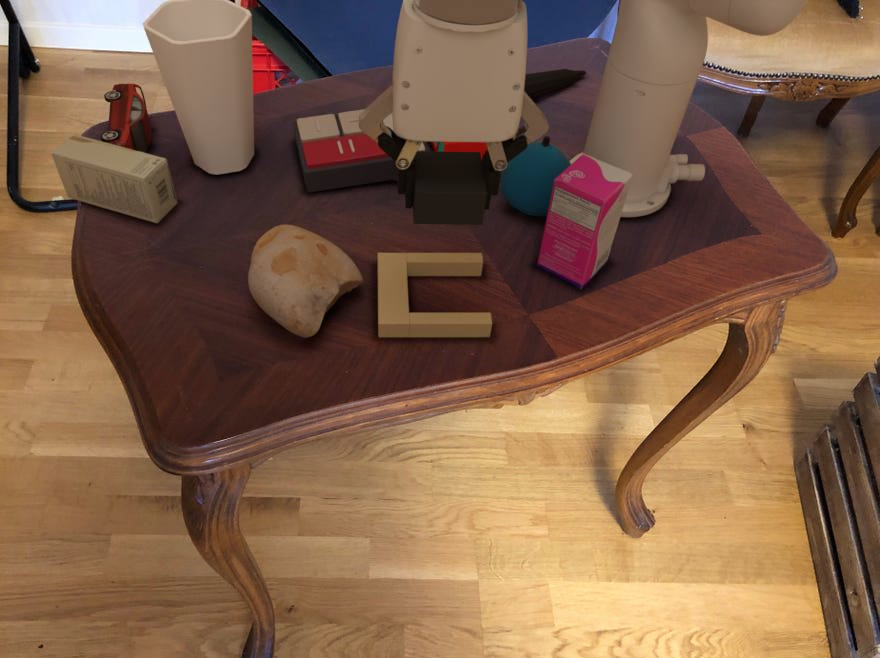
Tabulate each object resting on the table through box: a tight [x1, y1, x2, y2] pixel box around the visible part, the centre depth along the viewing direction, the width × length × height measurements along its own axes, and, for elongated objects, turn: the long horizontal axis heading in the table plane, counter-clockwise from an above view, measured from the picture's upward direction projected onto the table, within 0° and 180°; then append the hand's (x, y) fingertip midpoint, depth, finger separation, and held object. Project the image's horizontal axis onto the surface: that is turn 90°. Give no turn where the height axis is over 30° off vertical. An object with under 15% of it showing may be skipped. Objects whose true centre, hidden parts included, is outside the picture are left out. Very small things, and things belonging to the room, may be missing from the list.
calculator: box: [292, 108, 430, 193], centre depth 87 cm, size 11×4×15 cm
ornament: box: [500, 135, 571, 218], centre depth 79 cm, size 8×5×10 cm, turn 68°
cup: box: [142, 0, 255, 175], centre depth 81 cm, size 11×10×17 cm
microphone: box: [524, 68, 587, 100], centre depth 98 cm, size 6×6×20 cm
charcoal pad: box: [412, 150, 487, 226], centre depth 62 cm, size 6×6×3 cm
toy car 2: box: [429, 141, 488, 160], centre depth 89 cm, size 6×12×4 cm, turn 12°
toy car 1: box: [100, 82, 152, 153], centre depth 87 cm, size 6×15×5 cm
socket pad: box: [377, 252, 493, 338], centre depth 72 cm, size 11×10×2 cm
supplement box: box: [536, 154, 633, 290], centre depth 73 cm, size 6×6×12 cm
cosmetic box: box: [50, 134, 178, 224], centre depth 80 cm, size 6×4×12 cm
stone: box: [247, 224, 364, 339], centre depth 71 cm, size 14×11×8 cm
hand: (446, 197), depth 63 cm, fingers closed on charcoal pad, 6 cm apart
